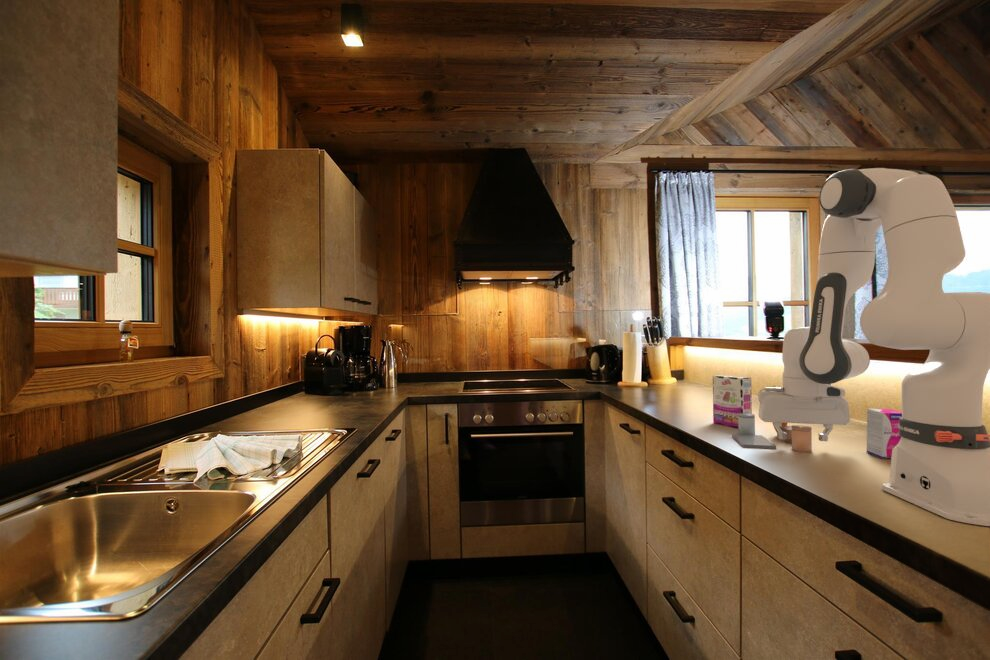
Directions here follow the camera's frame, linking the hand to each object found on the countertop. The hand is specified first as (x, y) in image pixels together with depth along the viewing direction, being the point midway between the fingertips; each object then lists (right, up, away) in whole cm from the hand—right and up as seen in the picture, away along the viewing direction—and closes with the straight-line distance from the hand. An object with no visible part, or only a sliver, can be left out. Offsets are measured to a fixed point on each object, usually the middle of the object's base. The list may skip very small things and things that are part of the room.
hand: (802, 439), depth 120 cm
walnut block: (+3, -3, +9) cm, 10 cm away
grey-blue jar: (-5, -3, +17) cm, 18 cm away
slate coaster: (-9, -3, +8) cm, 12 cm away
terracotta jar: (-1, -3, 0) cm, 3 cm away
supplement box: (+16, -3, -7) cm, 18 cm away
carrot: (+4, -3, +15) cm, 16 cm away
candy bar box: (-3, -3, +30) cm, 30 cm away
